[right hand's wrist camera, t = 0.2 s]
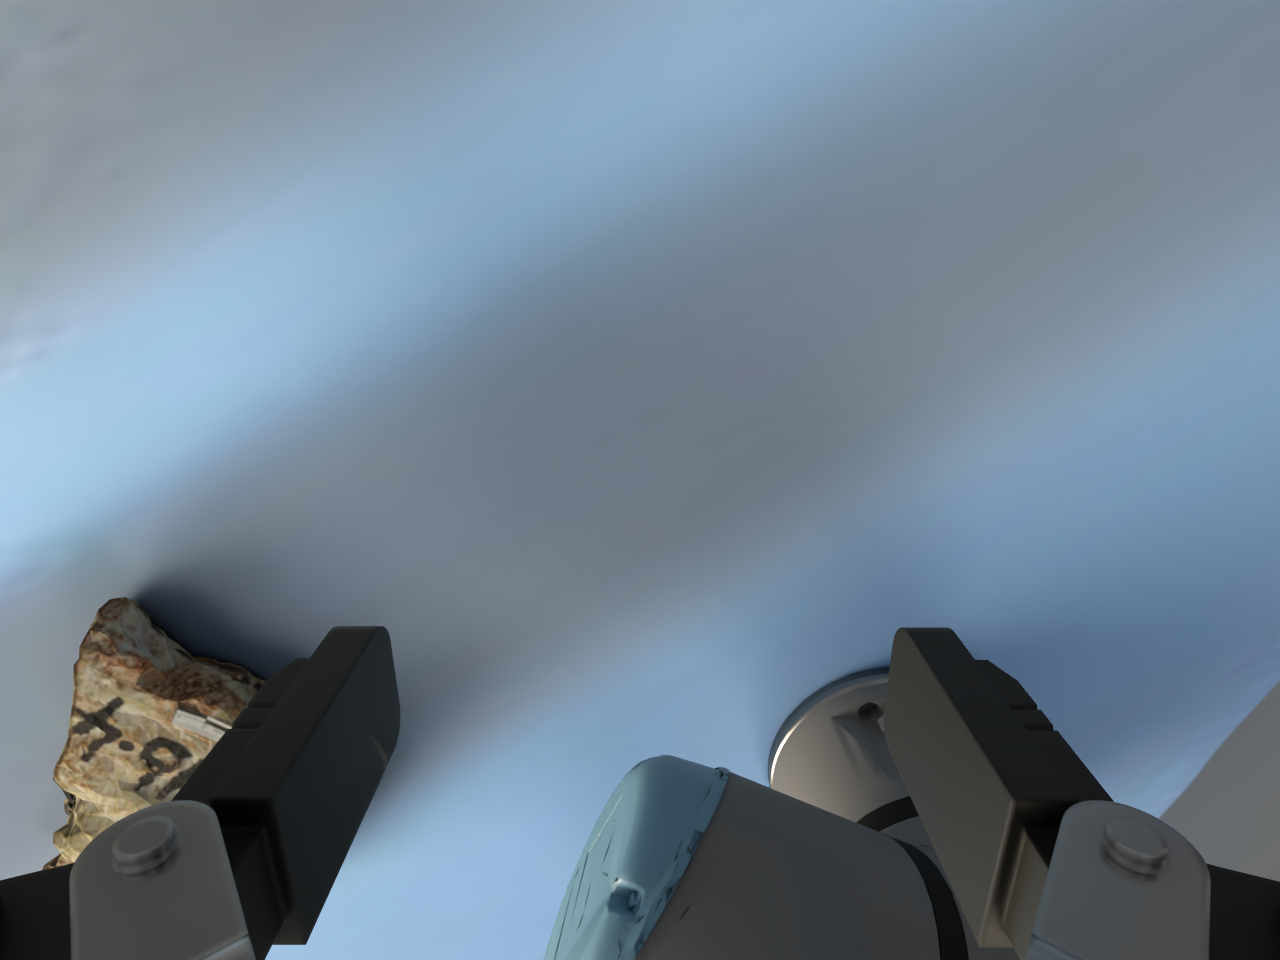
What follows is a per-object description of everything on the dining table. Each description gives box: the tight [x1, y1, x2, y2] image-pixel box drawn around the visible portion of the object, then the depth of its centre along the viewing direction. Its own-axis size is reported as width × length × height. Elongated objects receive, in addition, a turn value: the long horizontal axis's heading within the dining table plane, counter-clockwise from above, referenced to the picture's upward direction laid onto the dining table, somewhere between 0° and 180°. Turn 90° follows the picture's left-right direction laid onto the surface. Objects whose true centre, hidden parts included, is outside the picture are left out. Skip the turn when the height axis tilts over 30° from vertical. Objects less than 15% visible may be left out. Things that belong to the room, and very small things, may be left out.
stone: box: [43, 597, 265, 870], centre depth 47 cm, size 19×6×25 cm
